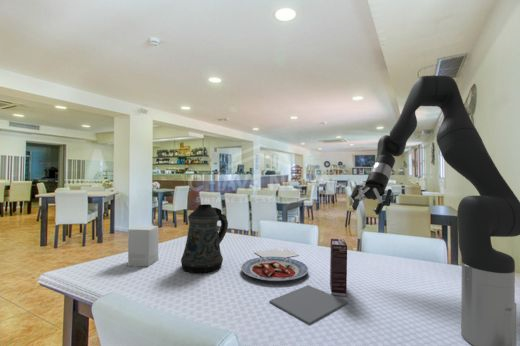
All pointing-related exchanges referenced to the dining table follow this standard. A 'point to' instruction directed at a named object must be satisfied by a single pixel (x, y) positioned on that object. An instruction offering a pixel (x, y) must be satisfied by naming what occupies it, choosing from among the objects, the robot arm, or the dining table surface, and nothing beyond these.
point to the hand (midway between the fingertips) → (365, 211)
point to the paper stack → (275, 253)
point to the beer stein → (204, 240)
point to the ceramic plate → (274, 268)
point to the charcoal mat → (308, 303)
